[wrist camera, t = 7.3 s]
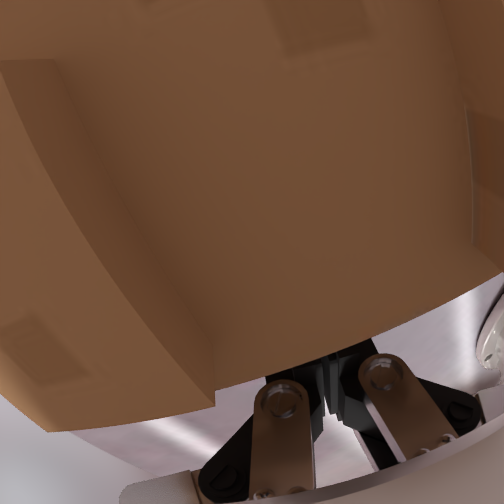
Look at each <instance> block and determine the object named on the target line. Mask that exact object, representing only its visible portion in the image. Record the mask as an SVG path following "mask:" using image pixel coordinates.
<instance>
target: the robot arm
mask: <svg viewBox="0 0 504 504" xmlns="http://www.w3.org/2000/svg"><path fill="white" fill-rule="evenodd" d="M476 355H477V358H478V360H479V362H480V363H481V365H482V366H483V367H484V368H485V369H490V370H493V369H499V371H500V372H501V376H500V381H501V382H500V383H498V385H497V386H495V387H491V388H488V389H484V390H480V391H477V393H476V394H474V395H470V394H468V393H466V392H462V391H459V390H456V389H453V388H449V387H446V386H443V385H440V384H437V383H433V382H430V381H427V380H424V379H421V378H418V377H415V375H414V374H413V373H412V371H411V370H410V369H409V367H408V366H407V365H406V363H405V362H404V361H403V360H402V359H401V358H399V357H397V356H395V355H392V354H387V353H385V354H379V353H378V351H377V349H376V347H375V345H374V343H373V341H372V339H371V338H369V339H367V340H364V341H362V342H359V343H357V344H354V345H352V346H349V347H347V348H344V349H342V350H339V351H337V352H334V353H331V354H329V355H326V356H323V357H320V358H318V359H315V360H312V361H309V362H307V363H304V364H301V365H298V366H295V367H292V368H289V369H286V370H283V371H280V372H277V373H274V374H271V375H268V376H265V379H266V385H265V386H264V387H263V388H261V389H260V390H259V392H258V393H257V395H256V397H255V401H254V414H253V415H252V416H251V417H250V418H249V419H248V420H247V421H246V422H245V423H244V424H243V426H242V427H241V428H240V429H239V430H238V431H237V432H236V433H235V434H234V435H233V436H232V437H231V438H230V439H229V440H228V442H227V443H226V444H225V445H224V446H223V447H222V448H221V449H220V450H219V451H218V452H217V453H216V454H215V455H214V456H213V457H212V458H211V459H210V460H209V461H208V462H207V463H206V464H205V465H204V466H203V468H202V469H199V470H195V471H192V472H191V471H190V470H186V471H183V472H179V473H175V474H172V475H168V476H164V477H160V478H156V479H151V480H147V481H142V482H138V483H133V484H131V485H128V486H127V487H126V488H125V489H124V490H123V491H122V492H121V495H120V497H119V504H504V293H503V295H502V296H501V298H500V299H499V301H498V302H497V304H496V305H495V307H494V308H493V310H492V312H491V313H490V315H489V317H488V319H487V320H486V322H485V325H484V327H483V329H482V331H481V333H480V336H479V339H478V342H477V348H476ZM324 396H325V400H326V403H327V406H328V410H329V413H330V415H331V414H335V413H336V415H337V419H338V421H343V424H344V425H345V426H348V427H350V428H352V429H353V431H354V434H355V436H356V437H357V439H358V441H359V443H360V445H361V447H362V449H363V451H364V452H365V454H366V456H367V458H368V460H369V462H370V464H371V466H372V468H373V469H374V471H375V472H374V473H371V474H368V475H365V476H362V477H359V478H355V479H352V480H348V481H345V482H341V483H337V484H334V485H330V486H326V487H322V488H317V489H316V471H315V453H314V442H315V441H316V439H317V438H318V437H319V435H320V434H321V433H322V431H323V417H324V416H325V402H324Z"/></svg>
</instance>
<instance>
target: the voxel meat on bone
mask: <svg viewBox="0 0 504 504" xmlns="http://www.w3.org/2000/svg"><path fill="white" fill-rule="evenodd" d="M502 272H503V273H504V0H0V394H1V395H2V396H3V397H4V398H6V399H7V400H8V401H9V402H10V403H12V404H13V405H14V406H15V407H16V408H17V409H18V410H20V411H21V412H22V413H23V414H24V415H26V416H27V417H28V418H30V419H31V420H32V421H34V422H35V423H36V424H37V425H38V426H40V427H41V428H42V429H44V430H45V431H47V432H60V431H73V430H84V429H93V428H101V427H109V426H117V425H123V424H130V423H136V422H142V421H148V420H154V419H159V418H164V417H170V416H175V415H179V414H184V413H189V412H193V411H198V410H202V409H206V408H210V407H215V391H216V390H220V389H223V388H227V387H231V386H234V385H238V384H241V383H245V382H248V381H251V380H255V379H258V378H261V377H264V376H268V375H271V374H274V373H277V372H280V371H283V370H286V369H289V368H292V367H295V366H298V365H301V364H304V363H307V362H309V361H312V360H315V359H318V358H320V357H323V356H326V355H329V354H331V353H334V352H337V351H339V350H342V349H344V348H347V347H349V346H352V345H354V344H357V343H359V342H362V341H364V340H367V339H369V338H371V337H374V336H376V335H379V334H381V333H383V332H385V331H388V330H390V329H392V328H395V327H397V326H399V325H401V324H403V323H406V322H408V321H410V320H412V319H414V318H416V317H419V316H421V315H423V314H425V313H427V312H429V311H431V310H433V309H435V308H437V307H439V306H441V305H443V304H445V303H447V302H449V301H451V300H453V299H455V298H457V297H459V296H460V295H462V294H464V293H466V292H468V291H470V290H472V289H473V288H475V287H477V286H479V285H481V284H482V283H484V282H486V281H488V280H489V279H491V278H493V277H495V276H496V275H498V274H500V273H502Z"/></svg>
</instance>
